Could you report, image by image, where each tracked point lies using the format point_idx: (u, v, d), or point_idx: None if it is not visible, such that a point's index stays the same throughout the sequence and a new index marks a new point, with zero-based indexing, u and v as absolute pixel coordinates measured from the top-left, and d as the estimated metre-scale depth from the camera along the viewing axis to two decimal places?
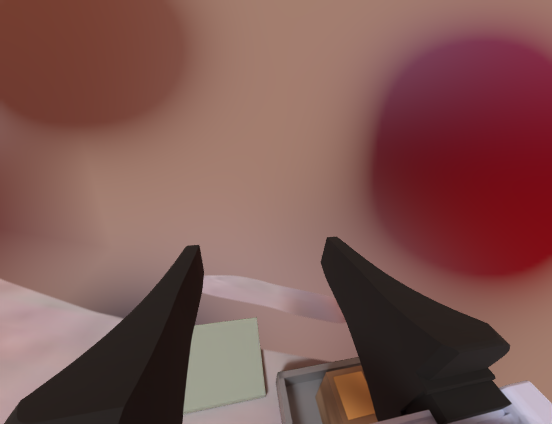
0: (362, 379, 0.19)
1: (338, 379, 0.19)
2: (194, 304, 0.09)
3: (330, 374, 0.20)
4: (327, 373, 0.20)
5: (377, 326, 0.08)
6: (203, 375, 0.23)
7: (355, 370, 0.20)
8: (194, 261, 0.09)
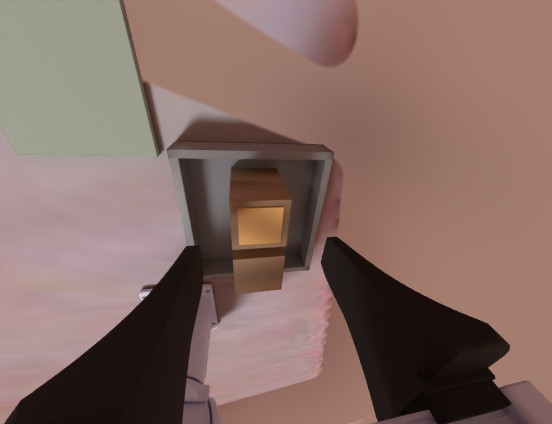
0: (279, 216, 0.14)
1: (243, 212, 0.13)
2: (194, 304, 0.09)
3: (235, 204, 0.13)
4: (230, 202, 0.13)
5: (377, 326, 0.08)
6: (30, 111, 0.13)
7: (275, 204, 0.13)
8: (194, 261, 0.09)
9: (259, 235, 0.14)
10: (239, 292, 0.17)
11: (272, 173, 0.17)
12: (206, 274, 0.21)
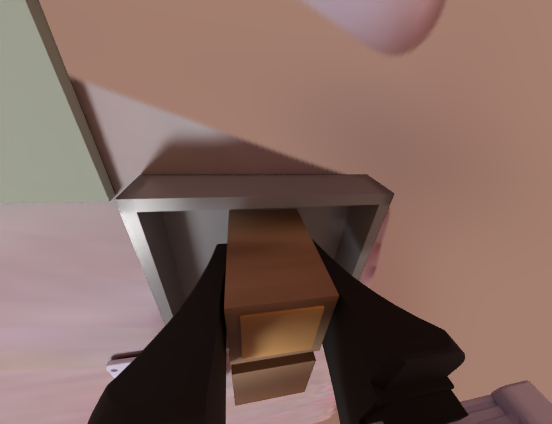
0: (314, 319, 0.08)
1: (251, 322, 0.07)
2: None
3: (235, 311, 0.07)
4: (227, 309, 0.07)
5: (340, 332, 0.08)
6: None
7: (310, 304, 0.07)
8: None
9: (277, 345, 0.08)
10: (241, 403, 0.11)
11: (293, 221, 0.11)
12: None
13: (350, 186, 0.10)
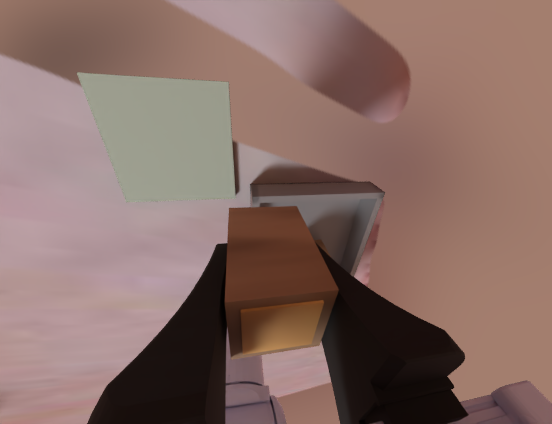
0: (313, 314, 0.08)
1: (251, 316, 0.07)
2: None
3: (236, 305, 0.07)
4: (228, 303, 0.07)
5: (340, 332, 0.08)
6: (145, 169, 0.16)
7: (309, 298, 0.07)
8: None
9: (277, 340, 0.08)
10: None
11: (293, 218, 0.11)
12: None
13: (361, 189, 0.19)
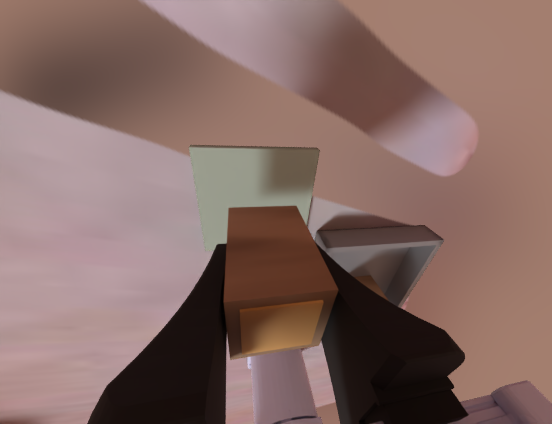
0: (313, 314, 0.08)
1: (250, 316, 0.07)
2: None
3: (235, 305, 0.07)
4: (227, 303, 0.07)
5: (340, 332, 0.08)
6: None
7: (309, 298, 0.07)
8: None
9: (277, 340, 0.08)
10: None
11: (292, 218, 0.11)
12: None
13: (420, 235, 0.20)
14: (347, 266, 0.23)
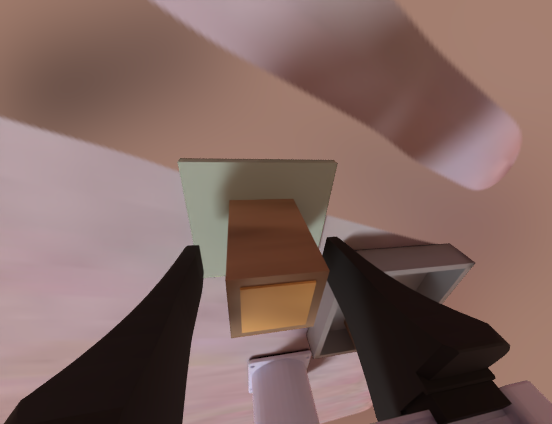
0: (307, 293, 0.08)
1: (250, 294, 0.08)
2: (194, 304, 0.09)
3: (235, 283, 0.07)
4: (228, 281, 0.07)
5: (377, 326, 0.08)
6: None
7: (303, 279, 0.08)
8: (194, 261, 0.09)
9: (274, 319, 0.09)
10: None
11: (289, 209, 0.12)
12: (323, 353, 0.22)
13: (447, 257, 0.18)
14: None
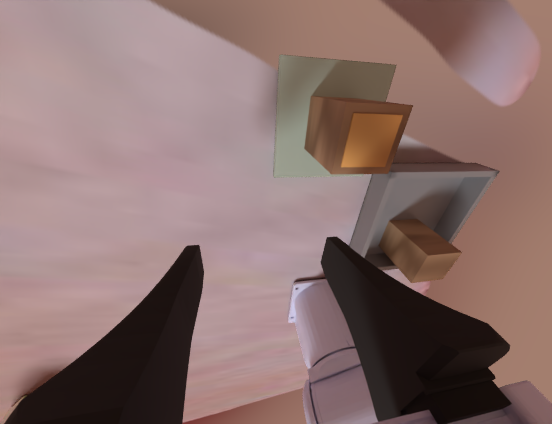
0: (394, 128, 0.12)
1: (358, 119, 0.11)
2: (194, 305, 0.09)
3: (351, 107, 0.11)
4: (347, 104, 0.11)
5: (377, 326, 0.08)
6: (300, 146, 0.18)
7: (394, 111, 0.11)
8: (194, 261, 0.09)
9: (366, 154, 0.12)
10: (414, 281, 0.22)
11: (360, 99, 0.15)
12: None
13: (475, 168, 0.21)
14: (398, 206, 0.24)
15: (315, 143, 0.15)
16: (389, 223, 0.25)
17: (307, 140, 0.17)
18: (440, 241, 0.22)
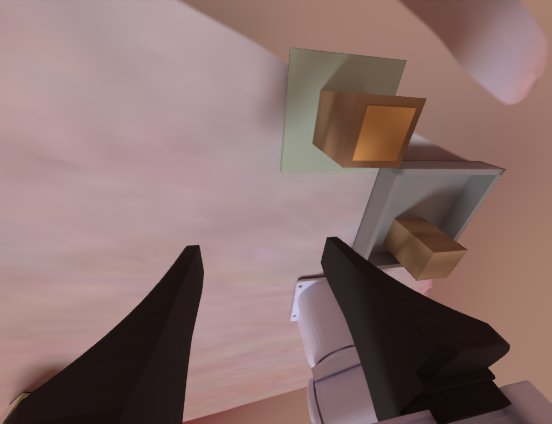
0: (407, 121, 0.12)
1: (372, 111, 0.11)
2: (194, 304, 0.09)
3: (365, 99, 0.11)
4: (361, 96, 0.11)
5: (377, 326, 0.08)
6: (308, 141, 0.17)
7: (407, 104, 0.11)
8: (194, 261, 0.09)
9: (377, 148, 0.12)
10: (419, 279, 0.22)
11: None
12: None
13: (481, 166, 0.21)
14: (403, 204, 0.24)
15: (325, 137, 0.15)
16: (394, 221, 0.25)
17: (316, 135, 0.17)
18: (445, 239, 0.22)
